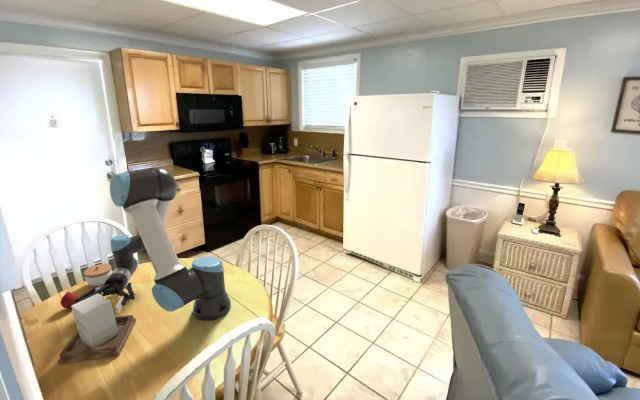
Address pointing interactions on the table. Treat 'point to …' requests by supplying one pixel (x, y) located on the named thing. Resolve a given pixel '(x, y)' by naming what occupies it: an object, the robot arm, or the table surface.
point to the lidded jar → (97, 274)
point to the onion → (68, 300)
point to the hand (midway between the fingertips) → (96, 312)
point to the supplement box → (95, 320)
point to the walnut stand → (110, 348)
